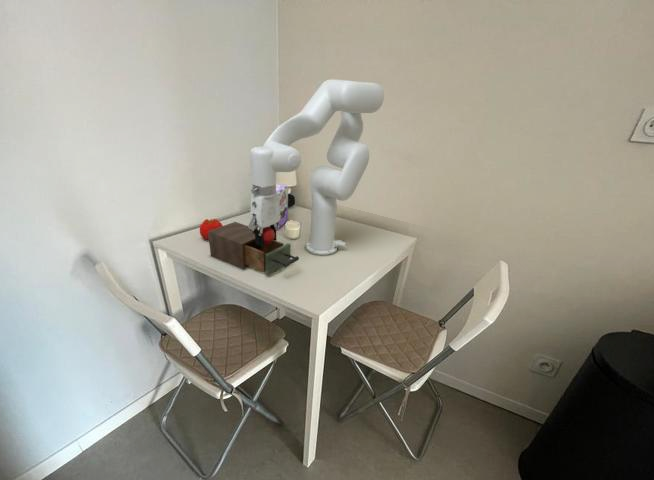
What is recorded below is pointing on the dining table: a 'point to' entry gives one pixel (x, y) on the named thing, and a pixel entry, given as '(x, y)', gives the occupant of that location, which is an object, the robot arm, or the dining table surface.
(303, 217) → the dining table surface
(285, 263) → the drawer
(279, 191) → the candy box
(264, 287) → the dining table surface
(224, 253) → the cabinet
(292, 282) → the dining table surface
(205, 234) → the tomato
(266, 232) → the apple
